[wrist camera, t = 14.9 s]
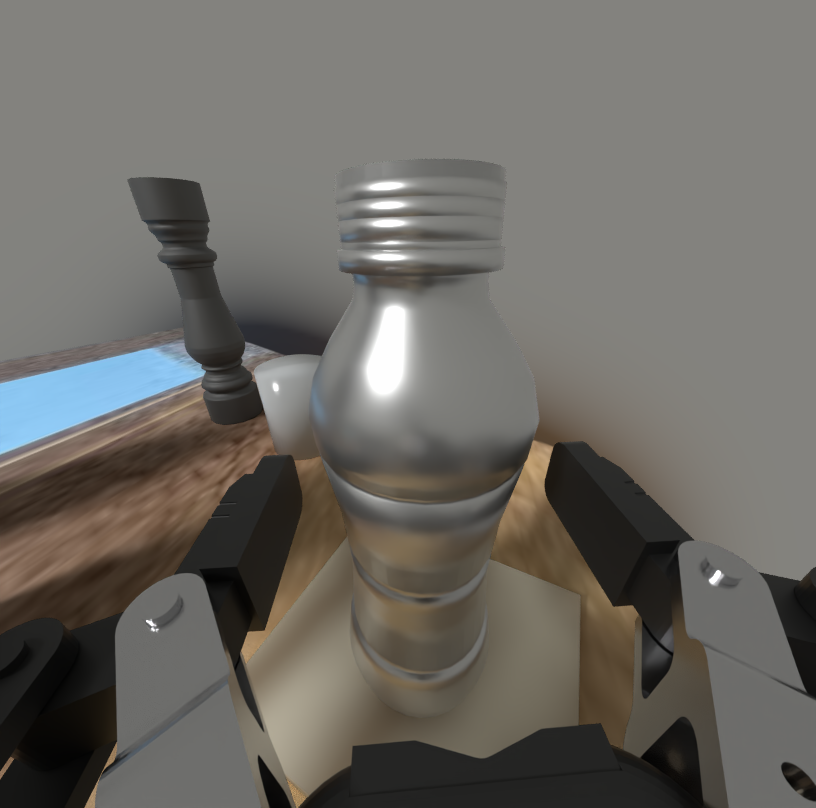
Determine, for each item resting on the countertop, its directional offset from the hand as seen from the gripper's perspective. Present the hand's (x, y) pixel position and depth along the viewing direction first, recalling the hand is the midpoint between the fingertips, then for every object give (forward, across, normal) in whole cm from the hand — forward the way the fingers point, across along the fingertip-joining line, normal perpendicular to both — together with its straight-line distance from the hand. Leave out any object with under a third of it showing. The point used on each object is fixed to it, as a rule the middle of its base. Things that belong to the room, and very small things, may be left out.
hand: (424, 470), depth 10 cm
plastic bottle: (+1, 0, +13) cm, 13 cm away
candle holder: (+30, +22, +14) cm, 39 cm away
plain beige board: (+1, 0, +14) cm, 14 cm away
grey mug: (+22, +11, +14) cm, 28 cm away
